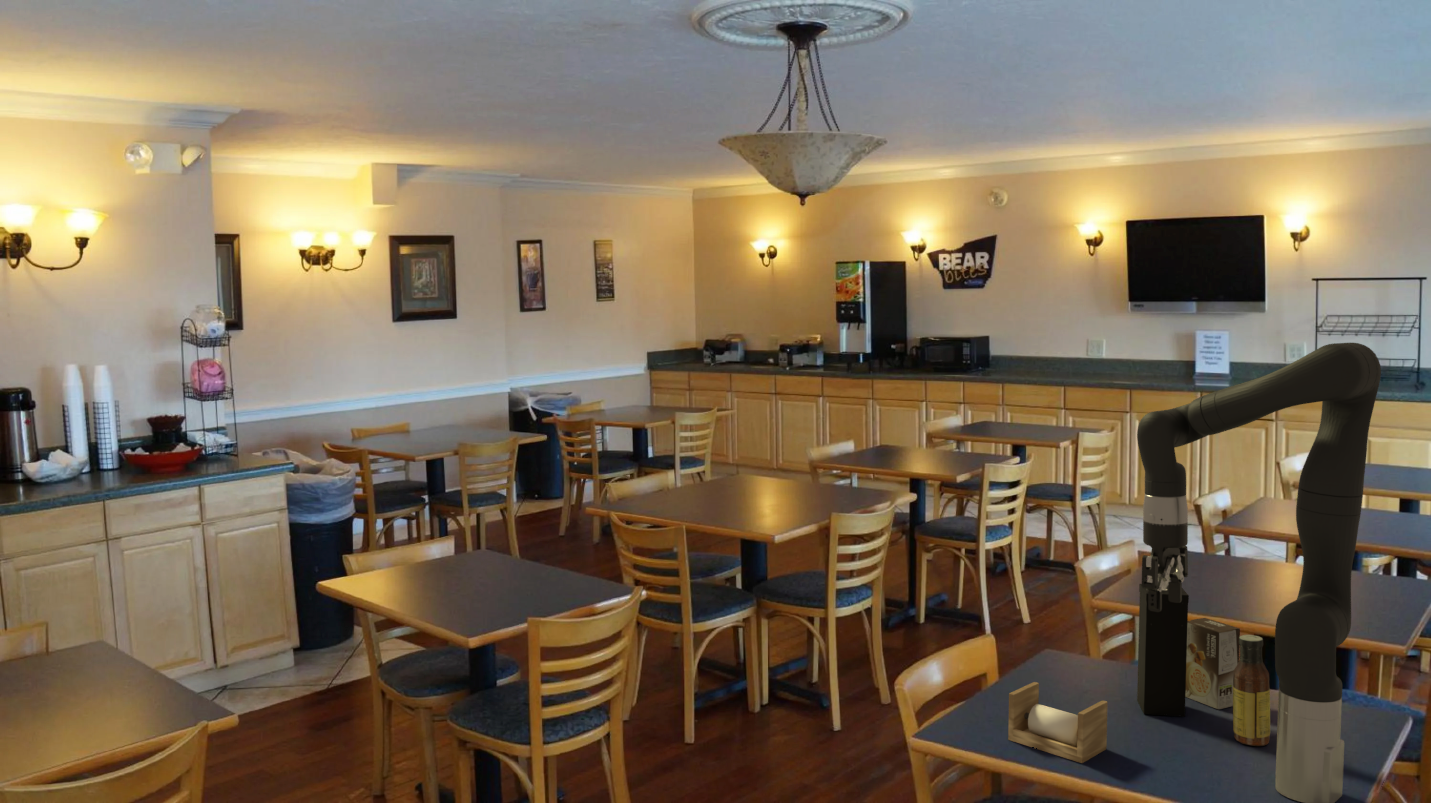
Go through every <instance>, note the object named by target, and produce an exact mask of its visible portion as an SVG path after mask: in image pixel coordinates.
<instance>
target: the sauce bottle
mask: <svg viewBox="0 0 1431 803" xmlns="http://www.w3.org/2000/svg"><path fill="white" fill-rule="evenodd" d="M1239 644H1240V649H1239V662H1238V664H1237V666H1236V667H1235V669H1234V675H1233V706H1232V725H1233V730H1232V731H1233V733H1234V734H1233V737H1234V739H1235V740H1236V741H1237V742H1239V743H1240V744H1242V745H1247V746H1252V747H1264V746H1266V745H1268V744H1270V735H1271V688H1270V673H1269V670H1268V669H1267V667H1266V665H1265V663H1264V662H1263V647H1264V639H1263V637H1261V636H1259V635H1253V634H1243V635H1240V637H1239Z"/></svg>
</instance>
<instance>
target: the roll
mask: <svg viewBox="0 0 1431 803" xmlns="http://www.w3.org/2000/svg"><path fill="white" fill-rule="evenodd" d="M1028 728H1029V730H1030V732H1031V733H1034V734H1037V735H1040V736H1044V737H1047V738H1050V739H1053V740H1057V741H1060V742H1063V743H1067V744H1070V745H1073V746H1076V747H1077V736H1078V714H1075V713H1071V712H1068V711H1065V710H1061V709H1058V708H1054V707H1051V706H1046V705H1043V704H1036V705H1034V706H1033V707H1032V709H1031V711H1030V713H1029V717H1028Z"/></svg>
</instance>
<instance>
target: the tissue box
mask: <svg viewBox="0 0 1431 803" xmlns="http://www.w3.org/2000/svg"><path fill="white" fill-rule="evenodd" d="M1158 581H1159V580H1158ZM1168 582H1170V580H1169V579H1168V580H1167V581H1165V582H1164V584H1163V587H1162V610H1161V611H1160V612H1154V611H1150V610H1149V609H1148V590H1147V589H1145V588H1142V583H1139V588H1138V592H1139V604H1138V605H1139V607H1138V608H1139V611H1138V648H1137V649H1138V650H1137V651H1138V655H1137V683H1136V684H1137V689H1136V690H1137V692H1136V693H1137V694H1136V701H1137V703H1138V705H1139V708H1140V709H1141V712H1142V714H1144V715H1151V716H1152V715H1154V716H1155V715H1156V716H1171V717H1186V697H1185V693H1186V659H1187V624H1188V621H1189V620H1188V619H1189V616H1188V615H1189V614H1188V613H1189V599H1190V597H1189V596H1190V595H1189V594H1188V592H1186V591H1185V589H1184V588H1183V587H1182V601H1181V602H1180V603H1174V602H1170V601H1169V600H1168Z"/></svg>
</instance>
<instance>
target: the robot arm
mask: <svg viewBox="0 0 1431 803" xmlns="http://www.w3.org/2000/svg"><path fill="white" fill-rule="evenodd" d="M1381 376H1382V367H1381V364H1380V360H1379V358H1378V357H1377V355H1376V353H1375V351H1373V350H1372V348H1370V347H1369V346H1366V345H1365V344H1362V343H1358V342H1339V343H1328V344H1325V345H1323V346H1320V347H1318V348H1317V349H1315V350H1312V351H1311V352H1310V353H1308V354H1306V355H1304V356H1301V358H1298V359H1297V360H1295V361H1293V362H1291V363H1289V364H1287V365H1286V366H1283V367H1281V368H1279V369H1277V370H1274V371H1272V372H1270V373H1268V374H1265V375H1263V376H1259V377H1257V378H1254V379H1251V380H1247V381H1245V382H1242V383H1239V384H1235V385H1234V384H1233V385H1231V386H1229V387H1226V388H1222V389H1219V390H1215V391H1214V392H1211V393H1207V394H1205V395H1202V396H1199V397H1197V398H1194V399H1193V400H1192V401H1191V402H1190V403H1187V404H1183V405H1181V406H1178V407H1177V406H1176V407H1173V408H1170V409H1164V410H1163V409H1161V410H1155V411H1154V410H1153V411H1151V412H1147V413H1146V414H1144V415H1143V417H1142V418H1141V419H1140V421H1139V422H1138V423H1139V424H1138V426H1137V429H1136V431H1137V432H1136V437H1137V438H1136V439H1137V440H1136V441H1137V446H1138V450H1139V454H1140V460H1141V463H1142V466H1143V470H1144V499H1143V505H1142V508H1143V509H1142V511H1143V512H1142V513H1143V514H1142V515H1143V516H1142V517H1143V518H1142V520H1143V521H1142V522H1143V523H1142V526H1143V527H1142V528H1143V529H1142V532H1143V533H1142V536H1143V538H1142V541H1143V544H1145V545H1147V546H1149V547H1150V548H1151V551H1150V555H1146V554H1145V555H1144V554H1143V555H1142V559H1141V560H1142V561H1141V584H1142V588H1145V589H1147V590H1148V609H1149V610H1150V611H1154V612H1160V611H1161V610H1162V587H1163V584H1164V582H1165V581H1167V580H1168V579H1169V580H1170V582H1168V600H1169V601H1170V602H1174V603H1180V602H1181V601H1182V588H1183V582H1184V581H1185V578H1187V577H1189V563H1188V562H1189V559H1188V555H1189V554H1188V553H1189V552H1188V551H1189V550H1188V546H1187V545H1188V541H1189V540H1188V538H1189V536H1188V534H1189V533H1188V531H1189V530H1188V526H1189V524H1188V520H1189V519H1188V517H1189V514H1188V513H1189V512H1188V500H1187V473H1186V471H1187V470H1186V467H1185V466H1184V465H1183V464H1182V463H1180V462H1178V461H1177V455H1176V450H1175V449H1176V448H1179V447H1183V446H1185V445H1188V444H1191V443H1194V442H1195V441H1198V440H1201V439H1203V438H1206V437H1207V436H1213V435H1217V434H1221V433H1224V432H1227V431H1230V430H1234V429H1236V428H1240V427H1242V426H1246V425H1247V424H1250V423H1253V422H1255V421H1258V420H1259V419H1262V418H1263V417H1267V416H1269V415H1270V414H1273V413H1276V412H1278V411H1281V410H1284V409H1287V408H1292V407H1296V406H1299V405H1300V406H1301V405H1305V404H1312V403H1320V402H1321V415H1320V423H1319V427H1318V431H1317V433H1316V436H1315V439H1314V441H1313V443H1312V445H1311V447H1310V450H1309V452H1308V454H1307V457H1306V460H1305V462H1304V464H1303V466H1302V470H1301V473H1300V477H1299V481H1298V487H1297V488H1298V489H1297V497H1296V507H1295V520H1296V521H1295V522H1296V528H1297V532H1298V538H1299V543H1300V546H1301V550H1302V557H1303V559H1302V560H1303V562H1302V563H1303V564H1302V573H1301V574H1302V575H1301V580H1300V585H1299V586H1300V587H1299V590H1298V594H1297V597H1296V599H1295V600H1293V601H1292V602H1290V603H1287V604H1286V605H1285V606H1284V607H1282V608H1281V610H1280V611H1279V613H1278V615H1277V618H1276V621H1275V627H1274V631H1275V632H1274V643H1275V644H1274V659H1275V660H1274V663H1275V664H1274V667H1275V672H1276V676H1277V678H1278V699H1277V700H1278V701H1277V702H1278V704H1277V724H1276V725H1277V728H1276V729H1277V730H1276V734H1277V735H1276V757H1275V774H1274V778H1275V786H1274V787H1275V790H1276V791H1277V792H1278V793H1279V794H1281V795H1282V796H1284V797H1286V798H1288V799H1290V800H1294V801H1297V802H1301V803H1336V802H1337V801H1338V800H1339V799H1340V798H1341V797H1343V785H1344V784H1343V782H1344V763H1345V762H1344V760H1345V741H1344V739H1342V738H1341V733H1342V732H1341V729H1342V728H1341V726H1342V703H1343V682H1342V680H1341V678H1340V677H1338V676H1337V648H1338V647H1339V646H1340V645H1342V644H1343V643H1345V641H1346V640H1347V639H1348V637H1349V635H1350V632H1351V627H1352V572H1353V571H1352V570H1353V564H1354V563H1353V562H1354V558H1355V554H1356V548H1357V539H1358V533H1359V532H1358V531H1359V527H1360V526H1359V525H1360V520H1361V515H1362V513H1361V512H1362V506H1363V498H1364V482H1365V473H1366V463H1367V452H1368V438H1369V429H1370V424H1371V419H1372V415H1373V411H1374V407H1375V403H1376V398H1377V395H1378V391H1379V387H1380V383H1381ZM1158 580H1159V581H1158Z"/></svg>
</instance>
